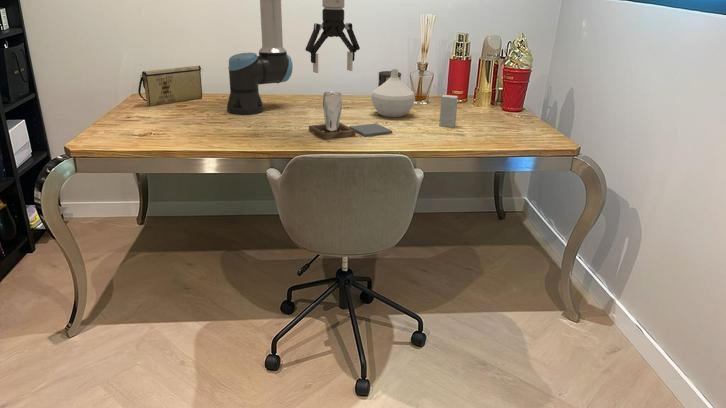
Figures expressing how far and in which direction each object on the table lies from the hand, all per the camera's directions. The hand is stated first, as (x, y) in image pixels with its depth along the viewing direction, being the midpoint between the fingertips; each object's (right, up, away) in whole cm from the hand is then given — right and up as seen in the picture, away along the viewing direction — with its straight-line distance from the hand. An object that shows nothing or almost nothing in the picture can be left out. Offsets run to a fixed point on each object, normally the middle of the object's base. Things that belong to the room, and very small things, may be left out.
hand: (332, 71), depth 195 cm
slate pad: (+14, -19, +14) cm, 28 cm away
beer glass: (-1, -21, +9) cm, 23 cm away
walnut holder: (-1, -21, +9) cm, 23 cm away
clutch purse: (-74, -2, +48) cm, 89 cm away
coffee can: (+23, -1, +59) cm, 63 cm away
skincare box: (+45, -16, +25) cm, 54 cm away
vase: (+23, -9, +39) cm, 47 cm away
